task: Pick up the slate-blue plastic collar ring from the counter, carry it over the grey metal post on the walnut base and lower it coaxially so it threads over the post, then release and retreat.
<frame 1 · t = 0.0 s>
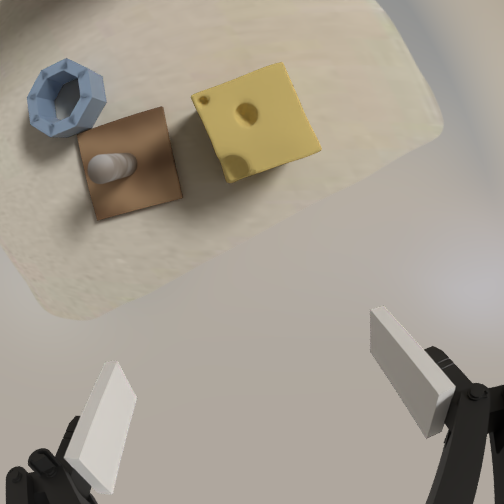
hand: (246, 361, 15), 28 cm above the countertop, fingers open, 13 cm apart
ring: (74, 101, 34), on the countertop
cheese: (248, 127, 38), on the countertop
post: (128, 164, 38), on the countertop
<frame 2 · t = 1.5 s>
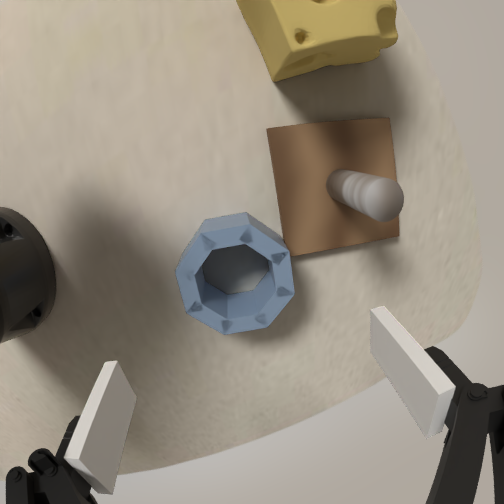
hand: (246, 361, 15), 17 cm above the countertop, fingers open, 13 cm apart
ring: (234, 263, 31), on the countertop
cheese: (299, 28, 25), on the countertop
post: (337, 183, 29), on the countertop
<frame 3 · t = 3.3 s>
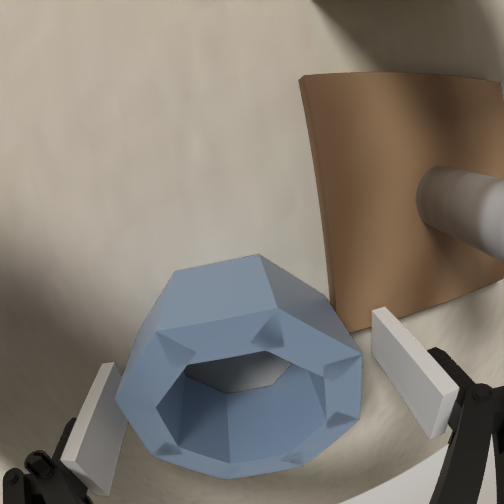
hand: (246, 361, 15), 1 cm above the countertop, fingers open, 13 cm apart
ring: (237, 346, 16), on the countertop
post: (428, 193, 14), on the countertop
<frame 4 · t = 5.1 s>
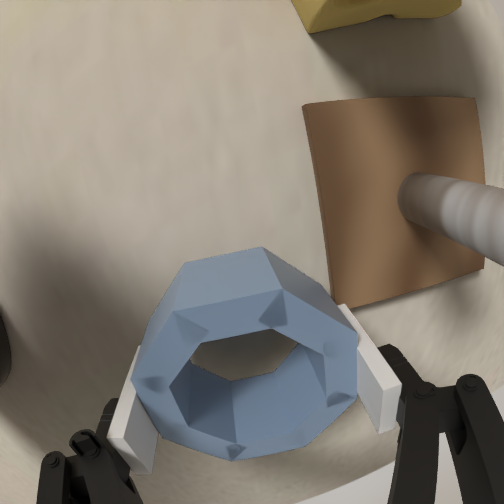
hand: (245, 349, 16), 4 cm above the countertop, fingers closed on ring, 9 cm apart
ring: (241, 334, 17), point 2 cm above the countertop, touching gripper
post: (410, 195, 18), on the countertop
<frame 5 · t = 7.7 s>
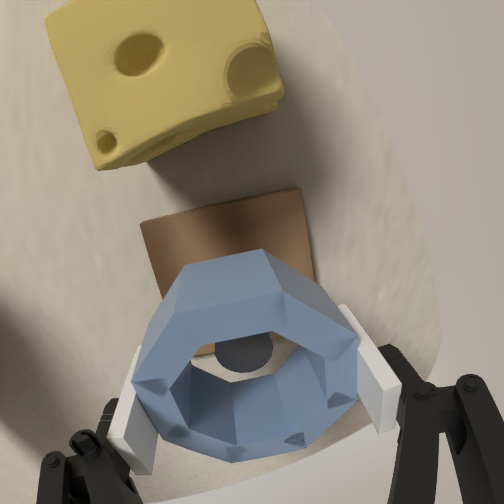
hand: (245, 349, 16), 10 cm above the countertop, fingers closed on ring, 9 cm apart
ring: (241, 336, 17), point 9 cm above the countertop, touching gripper
cheese: (179, 78, 21), on the countertop
post: (235, 277, 25), on the countertop
when the fingers open (3 cm above the countertop, at t = 10.3 s): ring stays where it is, resting on post.
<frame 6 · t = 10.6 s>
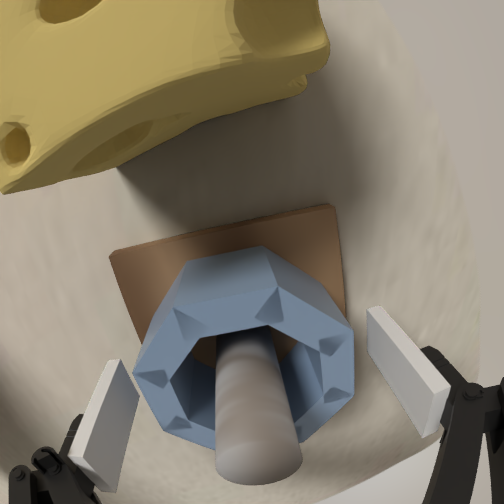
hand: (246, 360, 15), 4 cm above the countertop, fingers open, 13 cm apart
ring: (242, 331, 18), point 1 cm above the countertop, touching post
cheese: (162, 51, 14), on the countertop
post: (242, 324, 19), on the countertop
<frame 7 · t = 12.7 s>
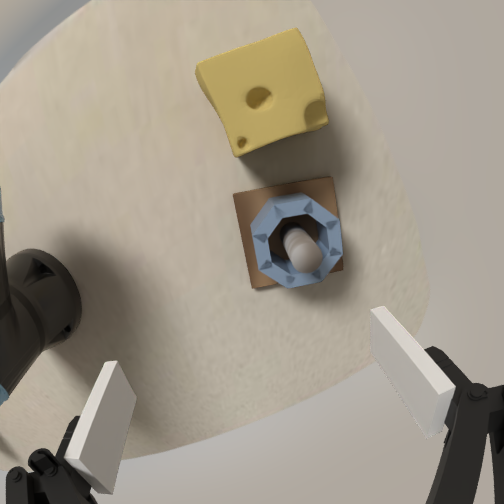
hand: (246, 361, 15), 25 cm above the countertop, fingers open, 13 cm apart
ring: (291, 233, 38), point 1 cm above the countertop, touching post
cheese: (258, 104, 35), on the countertop
post: (290, 232, 39), on the countertop
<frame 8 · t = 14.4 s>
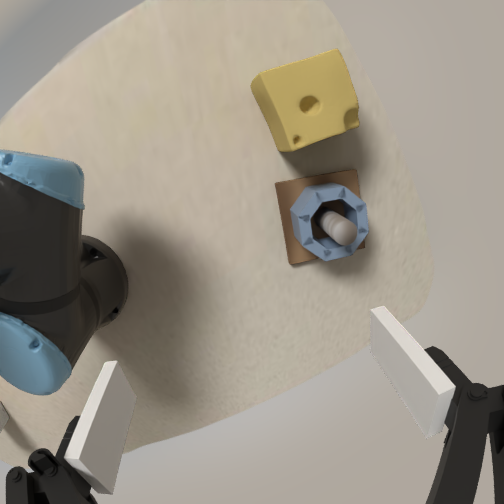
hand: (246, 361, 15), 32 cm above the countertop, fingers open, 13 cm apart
ring: (323, 216, 45), point 1 cm above the countertop, touching post
cheese: (295, 108, 41), on the countertop
post: (321, 215, 46), on the countertop
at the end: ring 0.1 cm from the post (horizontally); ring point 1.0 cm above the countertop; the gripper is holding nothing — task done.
